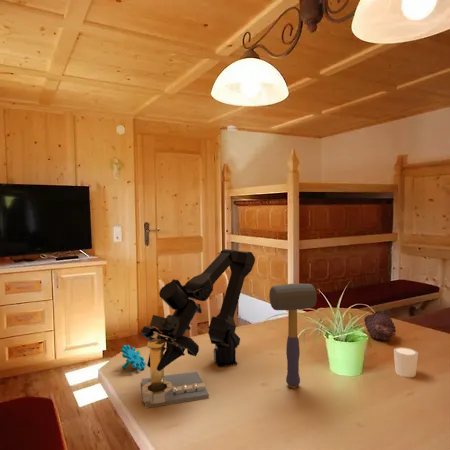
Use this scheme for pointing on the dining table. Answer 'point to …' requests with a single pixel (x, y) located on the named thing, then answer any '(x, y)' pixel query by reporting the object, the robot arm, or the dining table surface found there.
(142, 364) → the gear
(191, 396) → the grey base plate
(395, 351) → the shot glass
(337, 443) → the dining table surface
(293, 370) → the rubber mallet
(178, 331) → the robot arm
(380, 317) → the pine cone
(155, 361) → the golden flared cup
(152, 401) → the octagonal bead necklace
